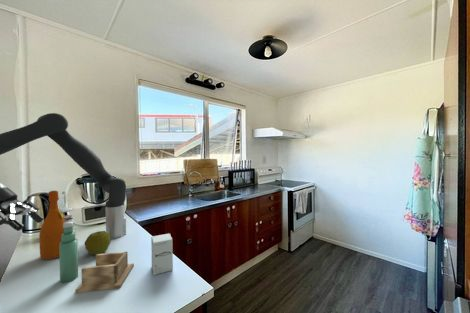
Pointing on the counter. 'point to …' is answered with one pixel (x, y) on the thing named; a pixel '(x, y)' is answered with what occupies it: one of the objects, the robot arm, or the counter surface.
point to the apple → (97, 242)
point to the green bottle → (68, 254)
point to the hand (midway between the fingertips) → (32, 224)
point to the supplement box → (162, 253)
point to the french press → (66, 209)
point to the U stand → (105, 272)
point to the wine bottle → (51, 229)
